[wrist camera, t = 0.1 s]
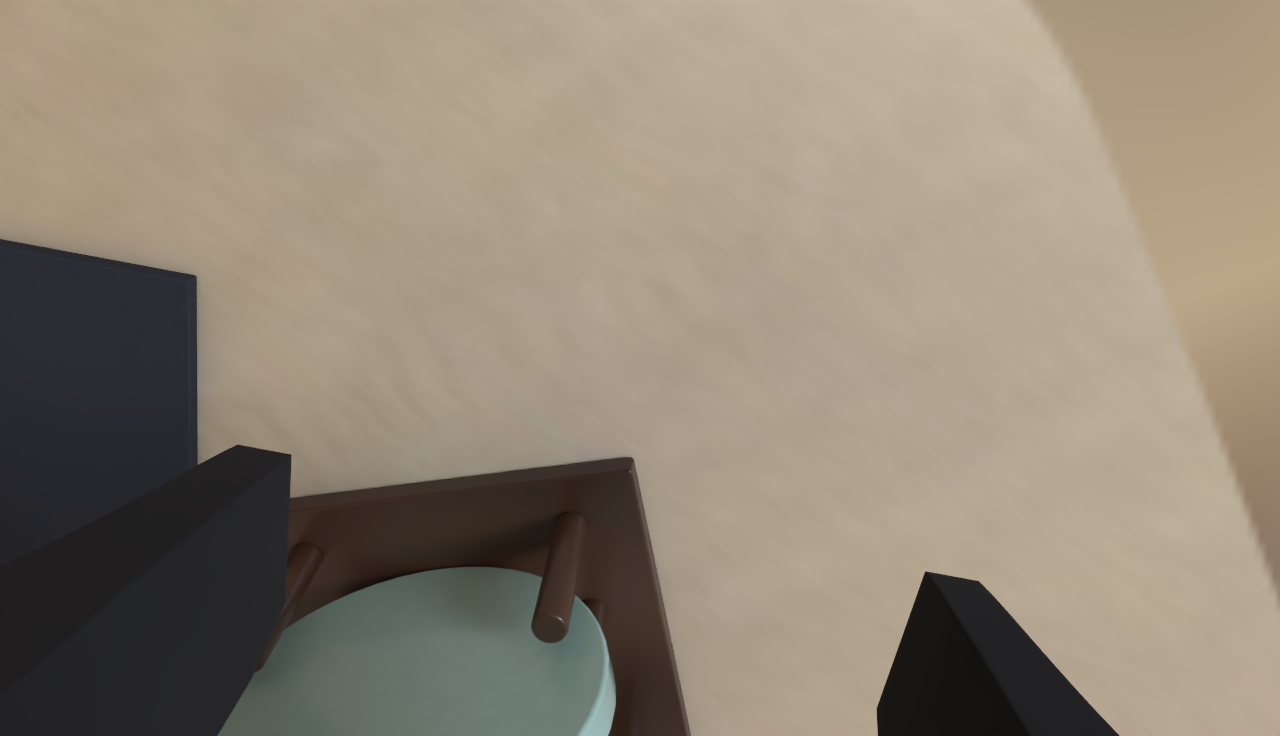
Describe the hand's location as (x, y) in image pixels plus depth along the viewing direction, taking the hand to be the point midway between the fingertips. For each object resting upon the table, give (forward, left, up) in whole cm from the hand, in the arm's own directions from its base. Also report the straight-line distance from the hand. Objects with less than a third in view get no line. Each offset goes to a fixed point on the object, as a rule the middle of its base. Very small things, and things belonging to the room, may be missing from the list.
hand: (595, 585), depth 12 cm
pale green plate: (-8, +3, -6) cm, 10 cm away
